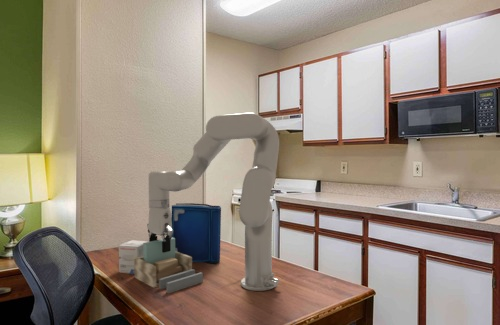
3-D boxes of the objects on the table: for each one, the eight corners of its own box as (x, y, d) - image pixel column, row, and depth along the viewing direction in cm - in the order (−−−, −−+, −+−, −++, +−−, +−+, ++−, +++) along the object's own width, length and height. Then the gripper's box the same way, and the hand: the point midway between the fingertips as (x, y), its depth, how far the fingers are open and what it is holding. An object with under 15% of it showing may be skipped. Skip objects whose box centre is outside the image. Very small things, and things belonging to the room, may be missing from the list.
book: (222, 259, 148) (222, 203, 148) (219, 264, 141) (219, 205, 141) (175, 258, 150) (174, 202, 150) (170, 263, 143) (169, 205, 143)
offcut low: (181, 275, 125) (181, 266, 125) (157, 283, 118) (157, 273, 118) (175, 273, 128) (175, 264, 128) (151, 280, 121) (151, 270, 121)
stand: (206, 285, 119) (206, 273, 119) (169, 298, 108) (169, 285, 108) (191, 278, 125) (191, 267, 125) (155, 290, 115) (155, 278, 114)
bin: (192, 278, 126) (192, 257, 126) (153, 290, 115) (153, 267, 114) (172, 269, 136) (171, 249, 136) (134, 279, 124) (134, 258, 124)
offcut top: (177, 267, 125) (177, 259, 125) (159, 273, 119) (159, 264, 119) (171, 265, 127) (171, 257, 127) (153, 270, 121) (153, 262, 121)
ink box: (150, 269, 136) (150, 240, 136) (138, 276, 128) (137, 246, 127) (131, 267, 138) (131, 239, 138) (118, 274, 130) (118, 244, 130)
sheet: (175, 271, 130) (175, 238, 130) (146, 279, 122) (146, 244, 122) (172, 270, 132) (171, 237, 132) (143, 278, 124) (143, 243, 123)
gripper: (180, 205, 123) (181, 251, 123) (156, 200, 135) (157, 243, 136) (162, 207, 118) (162, 256, 118) (139, 202, 130) (139, 246, 130)
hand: (159, 249), depth 127 cm, fingers open, 9 cm apart
